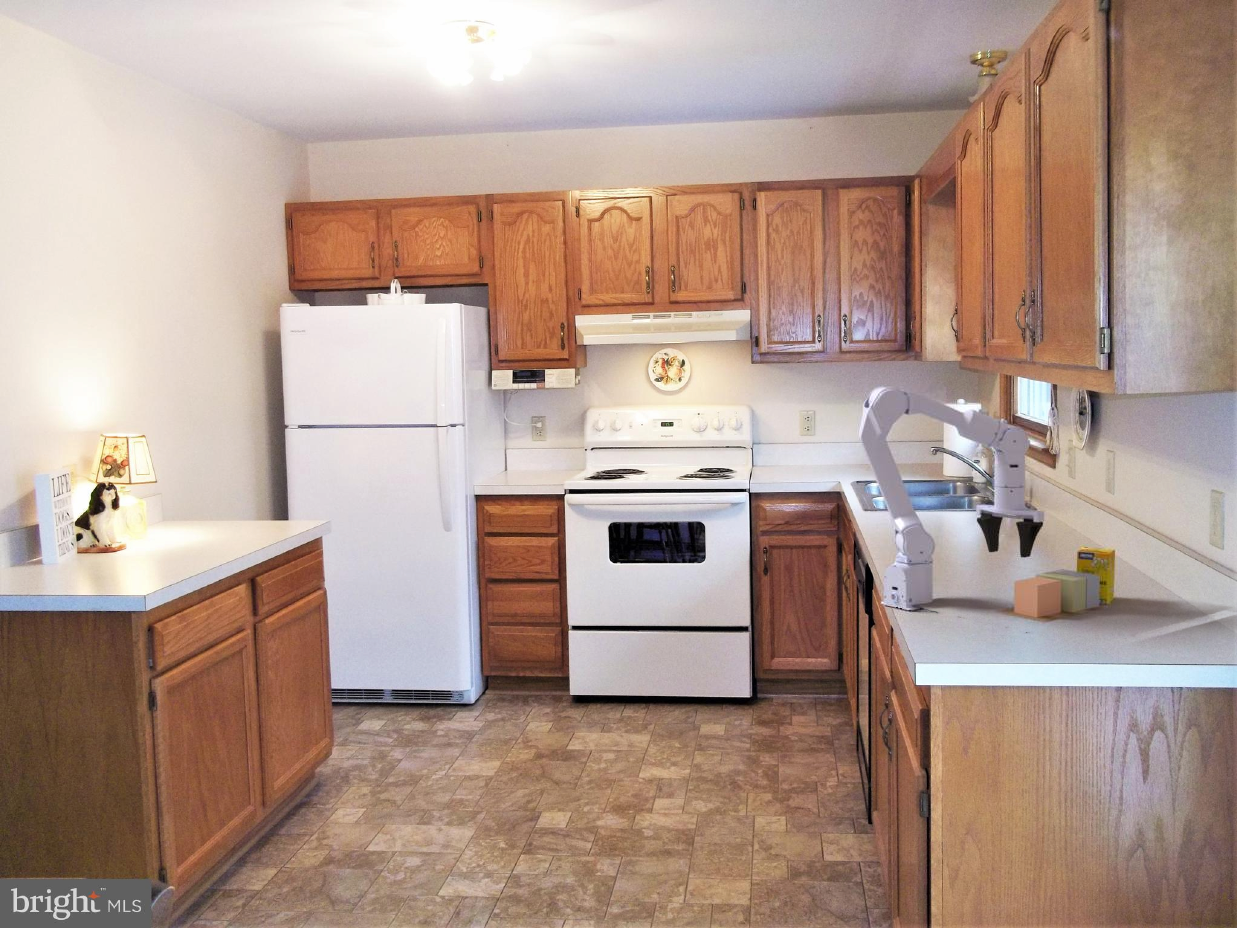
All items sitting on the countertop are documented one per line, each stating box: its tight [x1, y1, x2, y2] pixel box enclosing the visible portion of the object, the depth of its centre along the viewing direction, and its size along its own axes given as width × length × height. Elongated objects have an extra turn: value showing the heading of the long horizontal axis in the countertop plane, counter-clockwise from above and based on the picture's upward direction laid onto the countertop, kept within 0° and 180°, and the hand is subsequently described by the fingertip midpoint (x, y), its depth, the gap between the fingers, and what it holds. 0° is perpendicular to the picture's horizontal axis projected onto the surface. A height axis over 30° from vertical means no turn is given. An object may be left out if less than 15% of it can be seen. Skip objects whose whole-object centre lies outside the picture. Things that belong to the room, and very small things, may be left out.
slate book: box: [1050, 568, 1100, 609], centre depth 213 cm, size 4×8×6 cm, turn 33°
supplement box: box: [1076, 546, 1116, 605], centre depth 216 cm, size 6×6×11 cm
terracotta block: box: [1013, 576, 1061, 617], centre depth 207 cm, size 7×5×6 cm
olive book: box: [1035, 571, 1086, 612], centre depth 210 cm, size 4×8×6 cm, turn 33°
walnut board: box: [993, 604, 1109, 623], centre depth 209 cm, size 20×11×1 cm, turn 123°
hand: (1009, 554), depth 218 cm, fingers open, 7 cm apart
